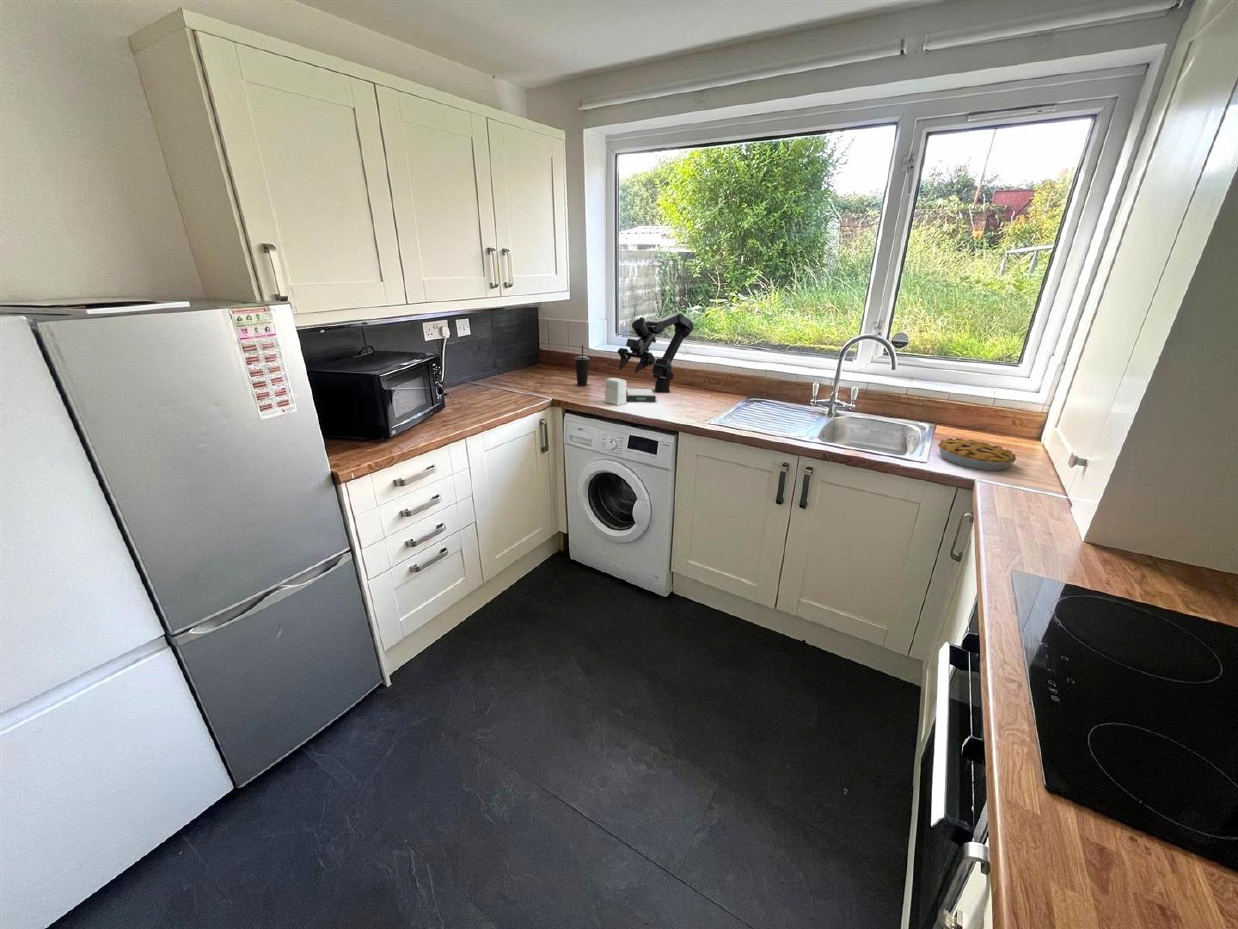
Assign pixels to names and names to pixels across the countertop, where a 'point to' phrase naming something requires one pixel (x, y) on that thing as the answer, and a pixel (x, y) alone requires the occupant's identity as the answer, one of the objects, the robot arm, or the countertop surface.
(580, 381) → the drinking cup
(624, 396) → the small box
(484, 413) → the countertop surface
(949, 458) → the pie
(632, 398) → the kitchen scale
